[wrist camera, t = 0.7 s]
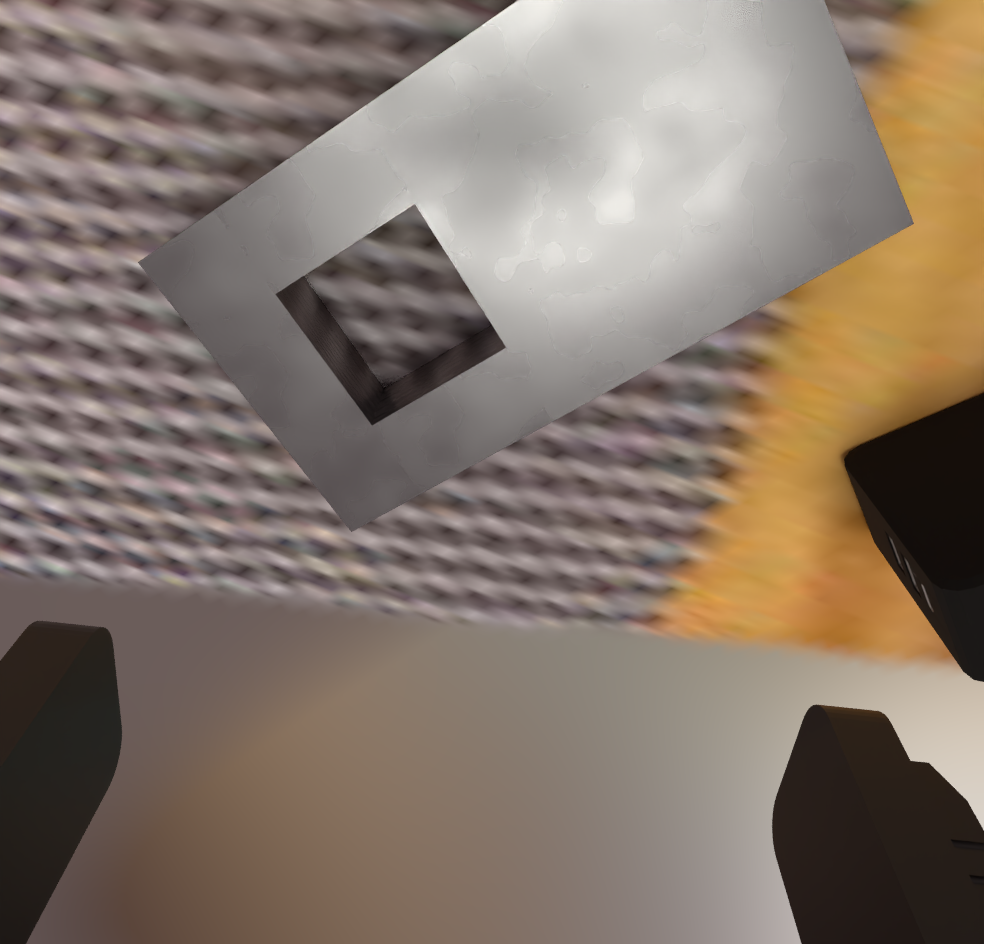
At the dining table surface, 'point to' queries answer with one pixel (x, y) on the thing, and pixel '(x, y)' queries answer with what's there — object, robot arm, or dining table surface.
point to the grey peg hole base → (541, 225)
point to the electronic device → (932, 519)
